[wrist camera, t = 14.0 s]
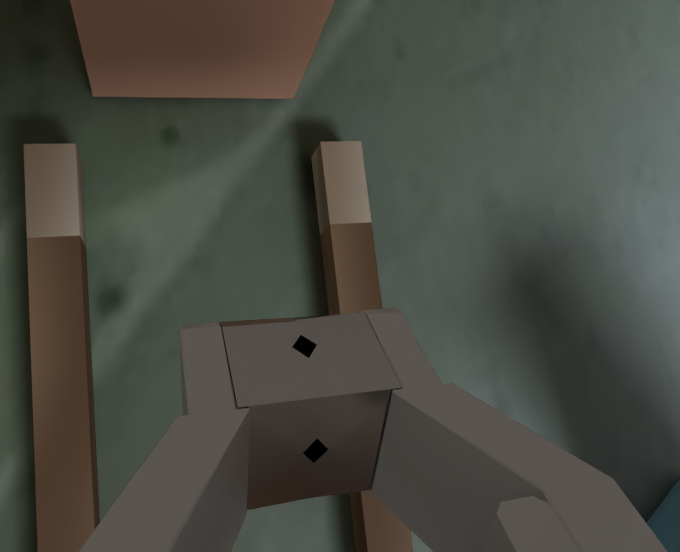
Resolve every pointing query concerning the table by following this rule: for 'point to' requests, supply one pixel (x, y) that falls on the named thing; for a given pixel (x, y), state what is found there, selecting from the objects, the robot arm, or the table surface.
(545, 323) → the table surface
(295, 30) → the block
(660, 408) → the table surface
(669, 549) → the data package
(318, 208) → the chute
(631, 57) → the table surface
